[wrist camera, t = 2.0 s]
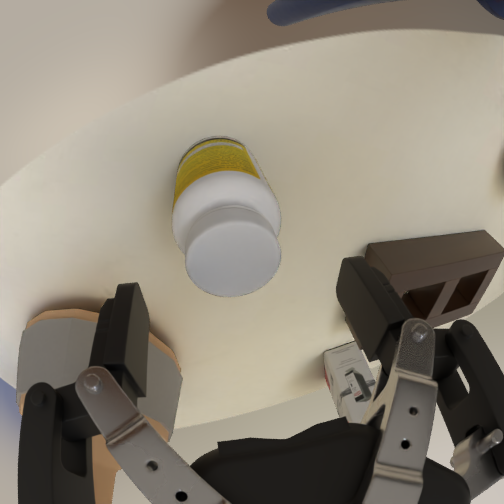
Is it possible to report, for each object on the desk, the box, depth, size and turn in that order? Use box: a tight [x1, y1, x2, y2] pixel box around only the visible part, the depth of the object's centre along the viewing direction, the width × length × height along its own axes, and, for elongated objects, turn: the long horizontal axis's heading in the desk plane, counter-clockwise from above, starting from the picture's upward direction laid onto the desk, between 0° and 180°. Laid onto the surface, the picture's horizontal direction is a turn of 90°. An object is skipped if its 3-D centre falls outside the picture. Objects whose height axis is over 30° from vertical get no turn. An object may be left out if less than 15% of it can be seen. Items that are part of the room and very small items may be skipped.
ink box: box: [324, 341, 375, 423], centre depth 34 cm, size 9×5×12 cm, turn 13°
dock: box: [345, 230, 504, 350], centre depth 29 cm, size 11×19×4 cm, turn 90°
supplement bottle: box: [172, 136, 281, 297], centre depth 16 cm, size 5×5×10 cm
